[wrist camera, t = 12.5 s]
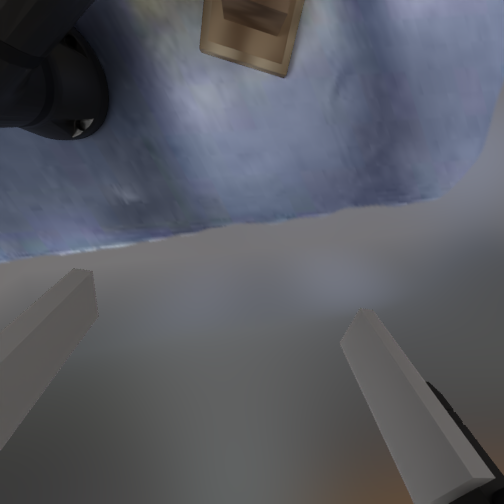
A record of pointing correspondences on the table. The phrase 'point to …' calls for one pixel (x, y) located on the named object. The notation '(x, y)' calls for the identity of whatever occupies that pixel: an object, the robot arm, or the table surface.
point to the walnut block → (257, 13)
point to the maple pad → (249, 39)
